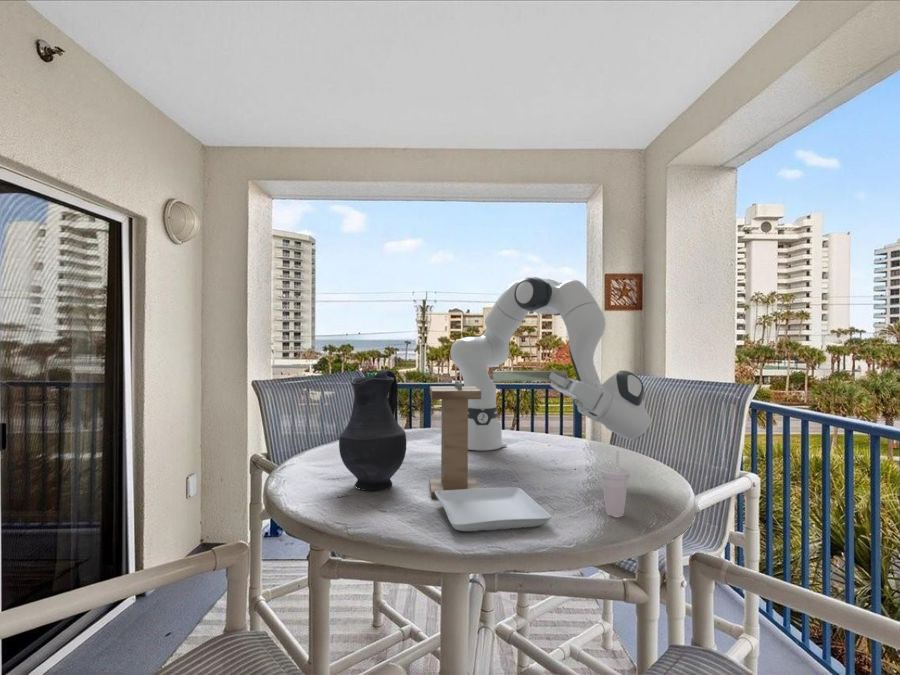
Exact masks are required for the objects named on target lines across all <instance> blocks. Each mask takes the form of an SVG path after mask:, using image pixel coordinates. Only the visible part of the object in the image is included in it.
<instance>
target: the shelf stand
mask: <svg viewBox="0 0 900 675" xmlns="http://www.w3.org/2000/svg"><path fill="white" fill-rule="evenodd" d="M429 396H430V397H431V400H441V434H440V435H441V437H440V438H441V440H440V441H441V442H440V443H441V447H440V448H441V449H440V450H441V452H440V453H441V454H440V456H441V461H440V462H441V464H440V465H441V467H440V468H441V469H440V471H441V472H440V473H441V474H440V477H429V483H428V484H429V490H430V497H431V499H438V498H437V497H436V495H435V491H444V490H460V489H478V488H480V487H479V484H478V483H477V480H476V478H475V477H472V476H471V477H468V474H469V473H468V466H469V462H468V461H469V460H468V459H469V458H468V454H469V451H468V450H469V449H468V399H481V390H479V389H478V388H477V387H475V386H464V385H463V383H462V382H460V381H457V380H456V381H454V385H441V386H440V385H438V386H437V385H434V386H433V385H432V386H431V385H430V386H429Z"/></svg>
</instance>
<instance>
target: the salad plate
mask: <svg viewBox="0 0 900 675" xmlns="http://www.w3.org/2000/svg"><path fill="white" fill-rule="evenodd" d="M435 495H436V497H437V498H436V499H437V500H438V501H439V503H440V504H441V506H442V507H443V509H444V510H445V514H446V517H447V519H448V521H449V522H450V525H451V527H453V529H455V530H457V531H460V532H479V531H478V530H486V531H497V530H498V529H500V530H508V529H510V530H511V528H512V529H522V527H524V528H530V527H531V528H532V527H538V526H542V525H544V524H546V523H548V522H549V521H550V520H551V519H552V515H551V514H550V513H548V511H547V510H545V509H544V508H543V507H542V506H541V505H540V504H539V503H537V502H536V500H534V499H533V498H532V497H530V495H529V494H527V492H525V491H524V490H523V489H522V488H520V487H518V486H517V487H479V488H478V489H460V490H444V491H435ZM498 531H499V530H498Z"/></svg>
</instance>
